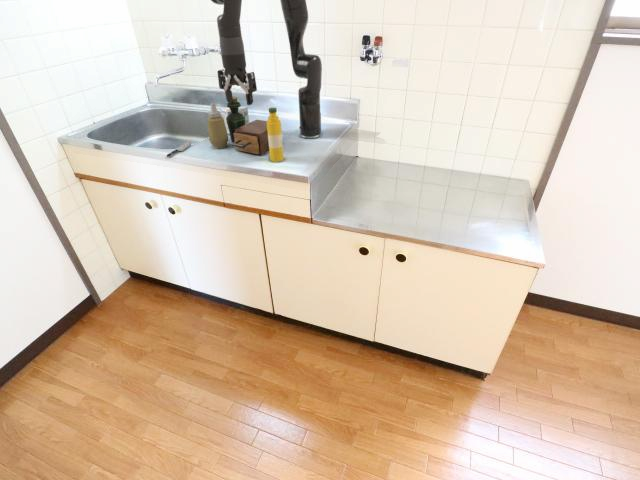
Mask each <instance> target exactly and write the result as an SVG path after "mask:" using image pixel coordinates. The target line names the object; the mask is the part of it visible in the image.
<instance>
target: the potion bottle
mask: <svg viewBox="0 0 640 480" xmlns="http://www.w3.org/2000/svg"><path fill="white" fill-rule="evenodd" d="M232 97H233V102H230V103H229V102H227V104H226V108H230V110H231V113H230V114H229V115H228V116H227V118H226V121H227V125H228V129H229V133H230V134H229V137H230V140H231V141H232V142H233V143H235V140H234V134H233V133H235V129H237V128H239V127H241V126H244V125H245V116H244V115H243V114H241V113H239V112H238V109H239V107H240V106H241V105H242V104H241V102H239V101H238V97H237V96H232Z"/></svg>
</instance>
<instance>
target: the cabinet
mask: <svg viewBox="0 0 640 480" xmlns="http://www.w3.org/2000/svg"><path fill="white" fill-rule="evenodd" d="M267 121H268V120H262V119H255V120H252V121H251V122H250V121H249V123H248V124H246V125H244V126H241V127H239V128H237V129H235V133H245V134H250V135H256V136H258V143H259V154H256V156H263V155H265V154H267V153H268V152H270V151H269V142H268V131H267ZM237 151H238V152H240V151H239V150H237ZM242 152H243V153H244V151H242ZM247 153H248V154H250V153H249V152H247ZM252 154H253V155H255V154H254V153H252Z"/></svg>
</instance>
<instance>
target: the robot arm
mask: <svg viewBox="0 0 640 480" xmlns="http://www.w3.org/2000/svg"><path fill="white" fill-rule="evenodd" d="M210 1H211V2H212V3H213V4H215V5H220V6H222V5H223V11H222V13H221V14H219V15H217V18H216V24H217V31H218V40H219V49H220V56H221V62H222V67H223V69H218V70H217V80H218V88H219V89H220V90H223V91H224V93H225V99H226V101H227V103H230V102H233V97H234V96H233V92H232V90H231V89H232V87H233V86H238V87H240V89H242V90H243V91H244V92H245V100H246V105H247V106H250V105H253V103H254V96H253V93H254V92H256V91H258V87H257V81H256V75H255V72H254V71H250V72H247V70H246V68H247V61H246V52H245V43H244V40H243V36H242V34H243V33H242V27H241V16H242V15H241V13H242V3H243V0H210ZM279 1H280V6H281V12H282V17H283V20H284V24H285V27H286V33H287V38H288V43H289V44H288V45H289V50H290V59H291V66H292V70H293V73H294V75H295V76H296V77H297V78H299V79H304V80H305V79H306V85H305V86H302V87H300V88H299V89H298V91H297V93H298V94H297V95H298V112H299V113H298V115H299V136H300V137H301V138H303V139H317V138H319V137H321V136H322V112H321V89H322V80H323V79H322V78H323V63H322V60H321V57H320V56H319V55H318V54H317V55H316V54H312V53H311V54H310V53H306V52H305V48H304V47H305V46H304V36H305V33H306V29H307V27H308V23H309V11H308V5H307V0H279Z"/></svg>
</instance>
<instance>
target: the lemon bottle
mask: <svg viewBox="0 0 640 480" xmlns="http://www.w3.org/2000/svg"><path fill="white" fill-rule="evenodd" d="M268 113H269V115H268V117H267V119H268V120H266V121H267V131H268V142H269V151H268V152H269V161H271V162H273V163H280V162H282V161H284V146H283V133H282V121H281V120H280V119H279V116H278V115H277V107H269V108H268Z"/></svg>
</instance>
